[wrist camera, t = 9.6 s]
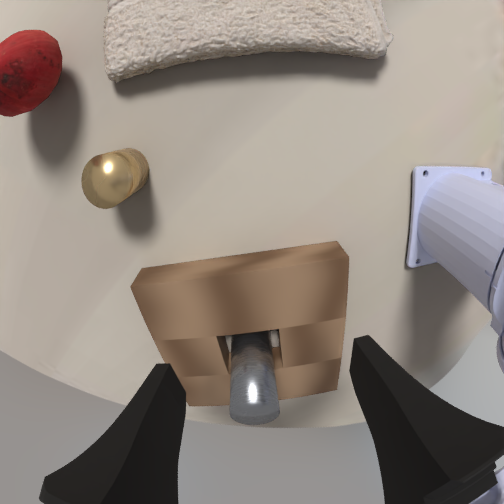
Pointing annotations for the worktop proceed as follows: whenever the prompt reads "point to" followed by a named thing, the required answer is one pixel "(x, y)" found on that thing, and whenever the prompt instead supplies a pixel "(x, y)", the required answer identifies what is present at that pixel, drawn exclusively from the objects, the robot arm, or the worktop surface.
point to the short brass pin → (114, 177)
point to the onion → (27, 70)
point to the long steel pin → (253, 379)
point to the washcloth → (236, 31)
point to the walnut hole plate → (249, 316)
